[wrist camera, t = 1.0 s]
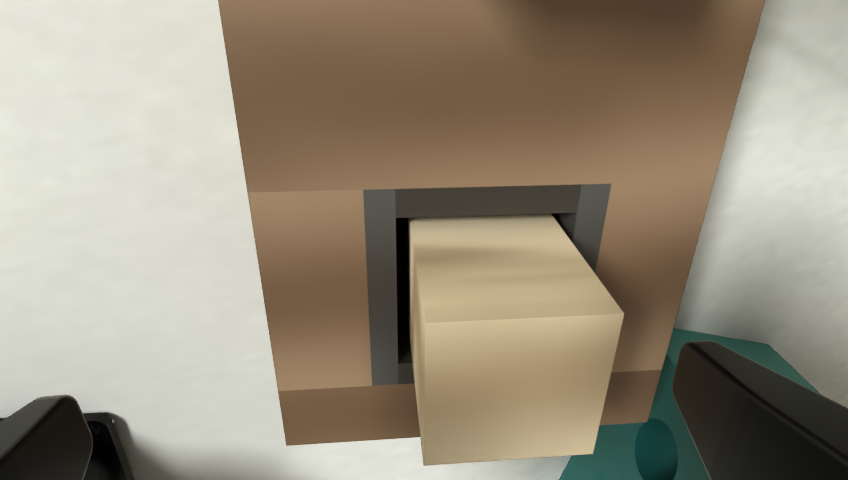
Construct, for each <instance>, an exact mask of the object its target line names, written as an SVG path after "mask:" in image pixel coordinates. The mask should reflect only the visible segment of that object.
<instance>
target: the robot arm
mask: <svg viewBox="0 0 848 480" xmlns="http://www.w3.org/2000/svg"><path fill="white" fill-rule="evenodd" d="M672 391H673V395H674V398H675V401H676V403H677V406H678V408H679V410H680V412H681V414H682V417H683V419H684V421H685V423H686V426H687V428H688V430H689V432H690V435H691V437H692V439H693V441H694V444H695V446H696V448H697V450H698V453H699V455H700V457H701V459H702V462H703V464H704V466H705V468H706V471H707V473H708V475H709V477H710V479H711V480H848V408H846V407H844V406H842V405H840V404H838V403H836V402H834V401H832V400H830V399H828V398H826V397H824V396H822V395H820V394H818V393H816V392H814V391H812V390H810V389H808V388H806V387H804V386H802V385H800V384H798V383H796V382H794V381H792V380H790V379H788V378H786V377H784V376H782V375H781V374H779V373H777V372H775V371H773V370H771V369H769V368H767V367H765V366H763V365H761V364H759V363H757V362H755V361H753V360H751V359H749V358H747V357H745V356H743V355H741V354H739V353H737V352H735V351H733V350H731V349H729V348H727V347H725V346H723V345H721V344H719V343H717V342H715V341H711V340H701V341H690V342H686V343H684V344H683V345H682V347H681V349H680V352H679V356H678V360H677V364H676V368H675V372H674V377H673V381H672ZM0 480H133V478H132V475H131V472H130V469H129V467H128V464H127V461H126V458H125V455H124V453H123V450H122V447H121V444H120V441H119V439H118V436H117V433H116V430H115V427H114V424H113V422H112V420H111V419H110V418H109V417H108V416H106V415H103V414H86V415H83V414H82V411H81V409H80V407H79V405H78V402H77V401H76V399H75V398H74V397H72V396H70V395H56V396H45V397H40V398H37V399H35V400H34V401H32V402H31V403H29V404H27V405H26V406H24V407H23V408H21V409H20V410H18V411H17V412H15V413H14V414H12V415H11V416H9V417H8V418H6V419H0Z"/></svg>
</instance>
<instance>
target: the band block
mask: <svg viewBox="0 0 848 480" xmlns="http://www.w3.org/2000/svg"><path fill="white" fill-rule="evenodd" d="M764 1H765V0H218V3H219V9H220V16H221V22H222V29H223V35H224V42H225V48H226V55H227V61H228V68H229V74H230V81H231V87H232V94H233V100H234V107H235V113H236V120H237V126H238V133H239V139H240V146H241V153H242V159H243V166H244V172H245V179H246V185H247V192H248V198H249V205H250V211H251V218H252V224H253V231H254V237H255V244H256V250H257V257H258V263H259V270H260V276H261V283H262V289H263V296H264V302H265V309H266V315H267V322H268V328H269V335H270V341H271V348H272V354H273V361H274V367H275V374H276V380H277V387H278V393H279V400H280V406H281V413H282V419H283V426H284V432H285V439H286V446H288V445H303V444H319V443H334V442H350V441H365V440H380V439H396V438H411V437H420V428H419V418H418V409H417V400H416V391H415V381H414V372H413V363H412V354H411V345H410V335H409V326H408V276H407V263H397V264H396V218H411V217H446V216H480V215H514V214H549V213H551V214H552V216H553V217H554V218H555V220H556V221H557V223H558V224H559V225H560V227H561V228H562V229H563V231H564V232H565V233H566V235H567V236H568V238H569V239H570V240H571V242H572V243H573V244H574V246H575V247H576V248H577V250H578V251H579V253H580V254H581V255H582V257H583V258H584V259H585V261H586V262H587V264H588V265H589V266H590V268H591V269H592V270H593V272H594V273H595V274H596V276H597V277H598V279H599V280H600V281H601V283H602V284H603V285H604V287H605V288H606V290H607V291H608V292H609V294H610V295H611V296H612V298H613V299H614V300H615V302H616V303H617V305H618V306H619V307H620V309H621V310H622V311H623V313H624V317H623V322H622V326H621V330H620V335H619V339H618V344H617V348H616V353H615V357H614V362H613V366H612V371H611V375H610V380H609V384H608V389H607V393H606V398H605V402H604V407H603V411H602V416H601V420H600V424H599V425H612V424H627V423H643V422H647V420H648V417H649V413H650V410H651V406H652V403H653V399H654V395H655V392H656V388H657V385H658V381H659V377H660V374H661V370H662V367H663V363H664V360H665V356H666V352H667V349H668V345H669V342H670V338H671V334H672V331H673V327H674V324H675V320H676V317H677V313H678V309H679V306H680V302H681V299H682V295H683V291H684V288H685V284H686V281H687V277H688V274H689V270H690V266H691V263H692V259H693V256H694V252H695V249H696V245H697V241H698V238H699V234H700V231H701V227H702V223H703V220H704V216H705V213H706V209H707V206H708V202H709V198H710V195H711V191H712V188H713V184H714V180H715V177H716V173H717V170H718V166H719V163H720V159H721V155H722V152H723V148H724V145H725V141H726V137H727V134H728V130H729V127H730V123H731V120H732V116H733V112H734V109H735V105H736V102H737V98H738V95H739V91H740V87H741V84H742V80H743V77H744V73H745V69H746V66H747V62H748V59H749V55H750V52H751V48H752V44H753V41H754V37H755V34H756V30H757V26H758V23H759V19H760V16H761V12H762V9H763V5H764Z"/></svg>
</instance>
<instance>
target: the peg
mask: <svg viewBox="0 0 848 480" xmlns="http://www.w3.org/2000/svg"><path fill="white" fill-rule="evenodd" d="M407 276H408V326H409V335H410V345H411V354H412V363H413V372H414V381H415V391H416V400H417V409H418V418H419V428H420V437H421V446H422V455H423V465H424V466H426V465H440V464H454V463H469V462H483V461H498V460H512V459H526V458H541V457H555V456H569V455H584V454H593V451H594V447H595V442H596V438H597V433H598V429H599V424H600V420H601V416H602V411H603V407H604V402H605V398H606V393H607V389H608V384H609V380H610V375H611V371H612V366H613V362H614V357H615V353H616V348H617V344H618V339H619V335H620V330H621V326H622V322H623V317H624V313H623V311H622V310H621V309H620V307H619V306H618V305H617V303H616V302H615V300H614V299H613V298H612V296H611V295H610V294H609V292H608V291H607V290H606V288H605V287H604V285H603V284H602V283H601V281H600V280H599V279H598V277H597V276H596V274H595V273H594V272H593V270H592V269H591V268H590V266H589V265H588V264H587V262H586V261H585V259H584V258H583V257H582V255H581V254H580V253H579V251H578V250H577V248H576V247H575V246H574V244H573V243H572V242H571V240H570V239H569V238H568V236H567V235H566V233H565V232H564V231H563V229H562V228H561V227H560V225H559V224H558V223H557V221H556V220H555V218H554V217H553V216H552V214H551V213H549V214H514V215H480V216H446V217H411V218H407Z"/></svg>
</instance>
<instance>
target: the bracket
mask: <svg viewBox="0 0 848 480" xmlns="http://www.w3.org/2000/svg"><path fill="white" fill-rule="evenodd" d="M701 340H711V341H715V342H717V343H719V344H721V345H723V346H725V347H727V348H729V349H731V350H733V351H735V352H737V353H739V354H741V355H743V356H745V357H747V358H749V359H751V360H753V361H755V362H757V363H759V364H761V365H763V366H765V367H767V368H769V369H771V370H773V371H775V372H777V373H779V374H781V375H782V376H784V377H786V378H788V379H790V380H792V381H794V382H796V383H798V384H800V385H802V386H804V387H806V388H808V389H810V390H812V391H814V392H816V393H818V394H820V393H819V392H818V391H817V390H816V389H815V388H814V387H813V386H811V385H810V384H809V383H808V382H807V381H806V380H805V379H804V378H803V377H802V376H801V375H800V374H799V373H798V372H797V371H796V370H795V369H794V368H793V367H792V366H790V365H789V364H788V363H787V362H786V361H785V360H784V359H783V358H782V357H781V356H780V355H779V354H778V353H777V352H776V351H775V350H774V349H773V348H772V347H771V346H769V345H768V344H762V343H756V342H751V341H745V340H739V339H733V338H727V337H722V336H716V335H710V334H704V333H699V332H693V331H687V330H681V329H676V328H673V331H672V334H671V338H670V342H669V345H668V349H667V352H666V356H665V360H664V363H663V367H662V370H661V374H660V377H659V381H658V385H657V388H656V392H655V395H654V399H653V403H652V406H651V410H650V413H649V417H648V420H647V422H643V423H627V424H612V425H599V429H598V433H597V438H596V442H595V447H594V451H593V454H584V455H572V456H571V458H570V460H569V462H568V464H567V466H566V468H565V470H564V471H563V473H562V475H561V477H560V479H559V480H711V479H710V477H709V475H708V473H707V471H706V468H705V466H704V464H703V462H702V459H701V457H700V455H699V453H698V450H697V448H696V446H695V444H694V441H693V439H692V437H691V435H690V432H689V430H688V428H687V426H686V423H685V421H684V419H683V417H682V414H681V412H680V410H679V408H678V406H677V403H676V401H675V398H674V395H673V391H672V381H673V377H674V372H675V368H676V364H677V360H678V356H679V352H680V349H681V347H682V345H683V344H684V343H686V342H690V341H701ZM820 395H821V394H820Z"/></svg>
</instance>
